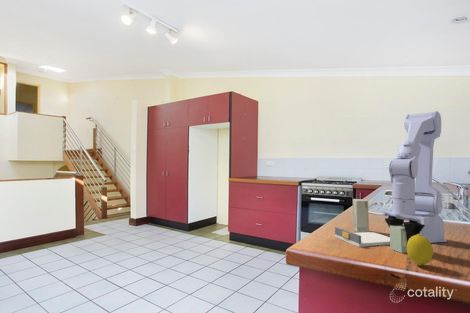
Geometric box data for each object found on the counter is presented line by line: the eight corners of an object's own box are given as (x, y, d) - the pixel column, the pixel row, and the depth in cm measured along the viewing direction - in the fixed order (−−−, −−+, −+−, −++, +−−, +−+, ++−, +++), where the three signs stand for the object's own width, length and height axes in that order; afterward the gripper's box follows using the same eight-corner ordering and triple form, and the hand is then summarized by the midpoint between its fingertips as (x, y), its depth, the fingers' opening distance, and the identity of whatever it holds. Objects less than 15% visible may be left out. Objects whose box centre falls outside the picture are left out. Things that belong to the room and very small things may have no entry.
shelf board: (372, 234, 99) (372, 225, 99) (400, 243, 87) (400, 233, 87) (334, 237, 94) (334, 227, 95) (357, 247, 83) (357, 235, 83)
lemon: (438, 270, 64) (437, 237, 65) (412, 269, 65) (412, 236, 66) (426, 262, 70) (425, 231, 70) (402, 261, 71) (402, 230, 71)
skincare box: (369, 233, 100) (369, 201, 100) (356, 233, 101) (356, 200, 101) (364, 229, 106) (364, 199, 106) (352, 229, 107) (352, 198, 107)
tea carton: (390, 249, 81) (389, 225, 82) (405, 247, 83) (405, 224, 83) (402, 253, 77) (402, 228, 77) (419, 251, 79) (418, 227, 79)
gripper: (374, 196, 87) (374, 238, 86) (414, 202, 73) (415, 252, 72) (392, 195, 88) (392, 237, 88) (435, 201, 74) (435, 250, 74)
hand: (404, 244), depth 80 cm, fingers closed on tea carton, 4 cm apart
